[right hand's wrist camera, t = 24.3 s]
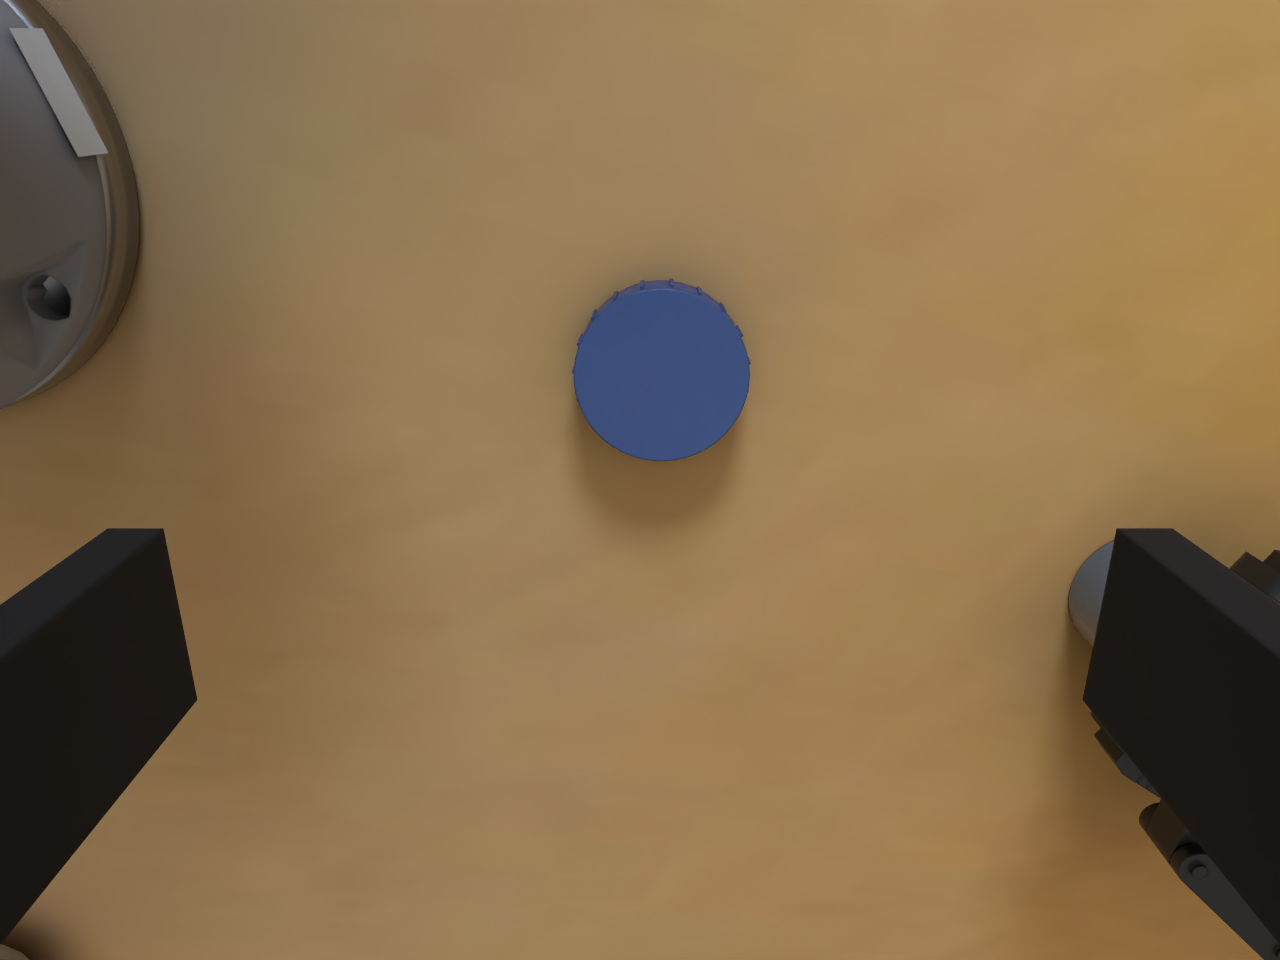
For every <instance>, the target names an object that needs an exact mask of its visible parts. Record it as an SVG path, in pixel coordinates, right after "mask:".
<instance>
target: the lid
mask: <svg viewBox="0 0 1280 960" xmlns="http://www.w3.org/2000/svg"><path fill="white" fill-rule="evenodd" d="M742 336H743V335H742V332H741V331H740V329H739V327H738V325H737V326H735V325H734V323H733V321H732V319H731V318H730V316H729V315H728V313H727V312H726V309H725V307H724V305H723V304H722V303H720V304H719V303H718V302H716V301H715V300H714V299H713V298H712V297H710V296H709V295H707V294H706V293H704V292H703V291H701V288H700V287H698V286H697V288H694V287H692V286H690V285H686V284H683V283H679V282H673V279H669V281H650V282H644V280H643V281H641V283H640V284H636V285H634V286H631V287H628V288H626V289H624V290H622V291H620V292H619V293H618V291H616V292H614V296H613V297H611V298H610V299H609V300H607V301H606V302H605V303H604V304H603V305H602V306H601V307H600V308H599V309H598V311H597V310H596V309H595V310H594V312H593V314H592V317H591V320H590V322H589V324H588V325H587V328H586V330H585V332H584V335H583V334H581V335H580V338H579V340H578V343H577V345H578V346H579V347H578V351H577V354H576V358H575V365H574V368H573V370H572V374H574V386H575V393H576V396H577V401H578V403H579V406H580V408H581V410H582V413H583V415H584V416H585V418H586V420H587V421H588V423H589V424H590V426H591V427H592V428H593V429H594V431H595V432H596V433H597V434H598V435H599V436H600V437H601V438H602V439H603V440H604V441H606V442H607V443H608V444H610V445H611V446H612V447H614V448H616V449H618V450H619V451H621V452H623V453H626V454H628V455H630V456H633V457H637V458H640V459H645V460H652V461H670V460H677V459H682V458H686V457H689V456H692V455H695V454H697V453H699V452H701V451H703V450H705V449H707V448H708V447H710V446H711V445H713V444H714V443H716V442H717V441H718V440H719V439H720V438H722V437H723V436H724V435H725V434H726V433H727V431H728V430H729V429H730V428H731V427H732V425H733V424H734V422H735V421H736V419H737V418H738V416H739V414H740V412H741V410H742V408H743V406H744V403H745V400H746V397H747V393H748V387H749V376H750V372H749V364H750V360H749V358H748V356H747V352H746V349H745V346H744V343H743V340H742V338H741V337H742Z"/></svg>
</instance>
